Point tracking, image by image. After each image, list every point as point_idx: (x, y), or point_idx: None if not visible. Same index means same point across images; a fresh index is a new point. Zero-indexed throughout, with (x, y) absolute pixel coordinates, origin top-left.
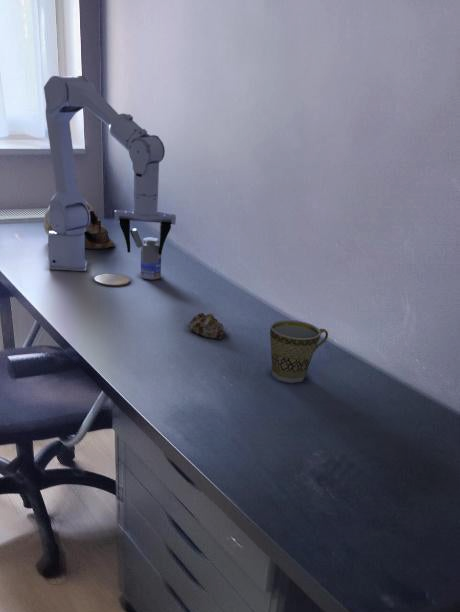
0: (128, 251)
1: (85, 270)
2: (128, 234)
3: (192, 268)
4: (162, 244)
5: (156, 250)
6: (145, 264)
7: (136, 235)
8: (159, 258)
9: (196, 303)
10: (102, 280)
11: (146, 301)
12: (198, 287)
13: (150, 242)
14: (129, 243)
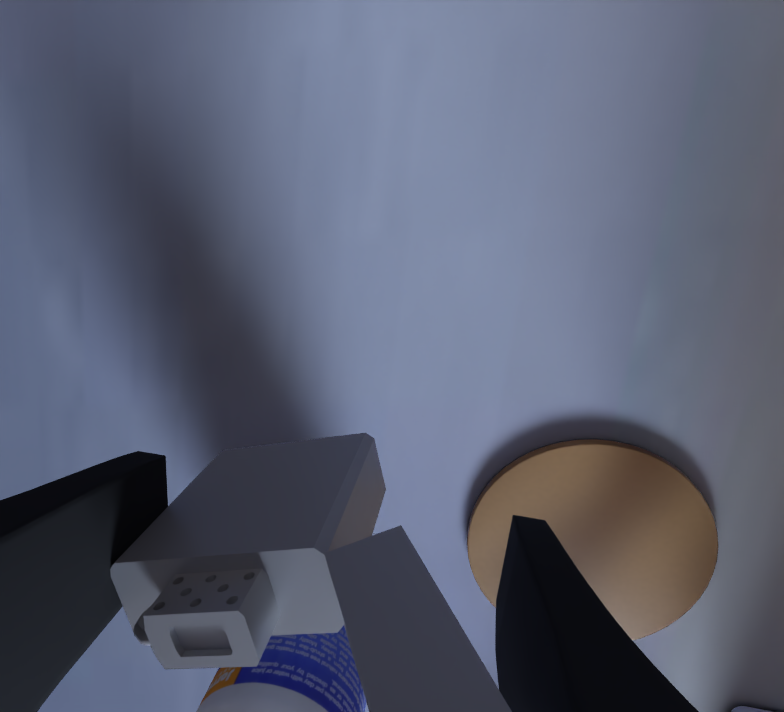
0: (539, 522)
1: (736, 710)
2: (604, 702)
3: (89, 707)
4: (26, 498)
5: (175, 520)
6: (339, 636)
7: (417, 673)
8: (221, 668)
9: (47, 91)
10: (667, 527)
11: (406, 110)
12: (47, 418)
13: (204, 599)
14: (543, 583)
